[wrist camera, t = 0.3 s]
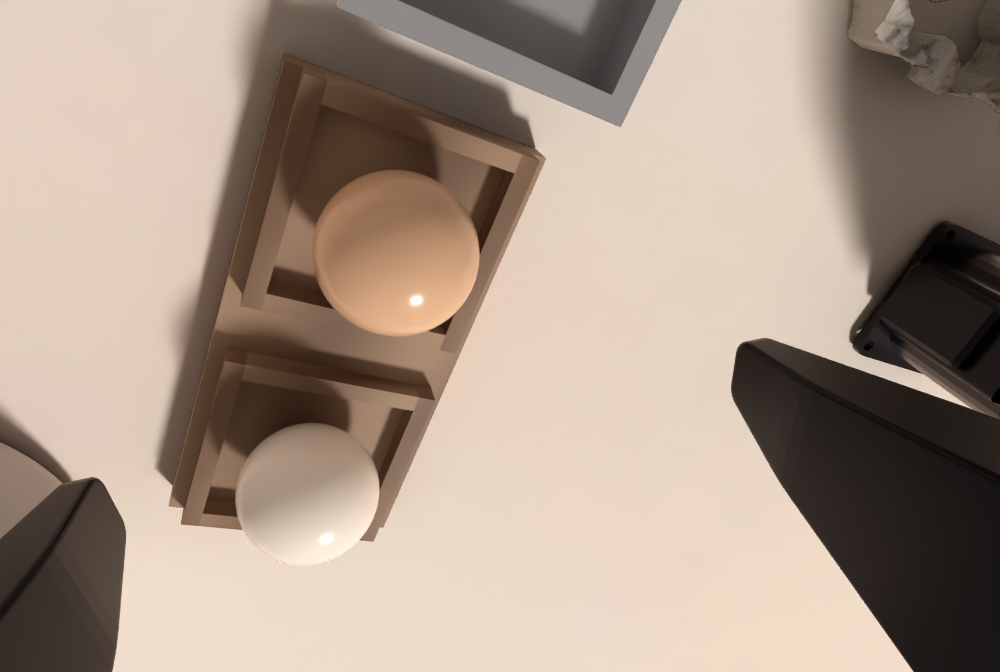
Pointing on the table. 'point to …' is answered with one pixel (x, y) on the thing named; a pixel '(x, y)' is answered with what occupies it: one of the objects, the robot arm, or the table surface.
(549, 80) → the dish
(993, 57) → the egg carton
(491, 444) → the table surface
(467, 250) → the egg brown
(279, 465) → the white smooth ball
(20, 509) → the cylinder vase
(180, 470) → the rack
